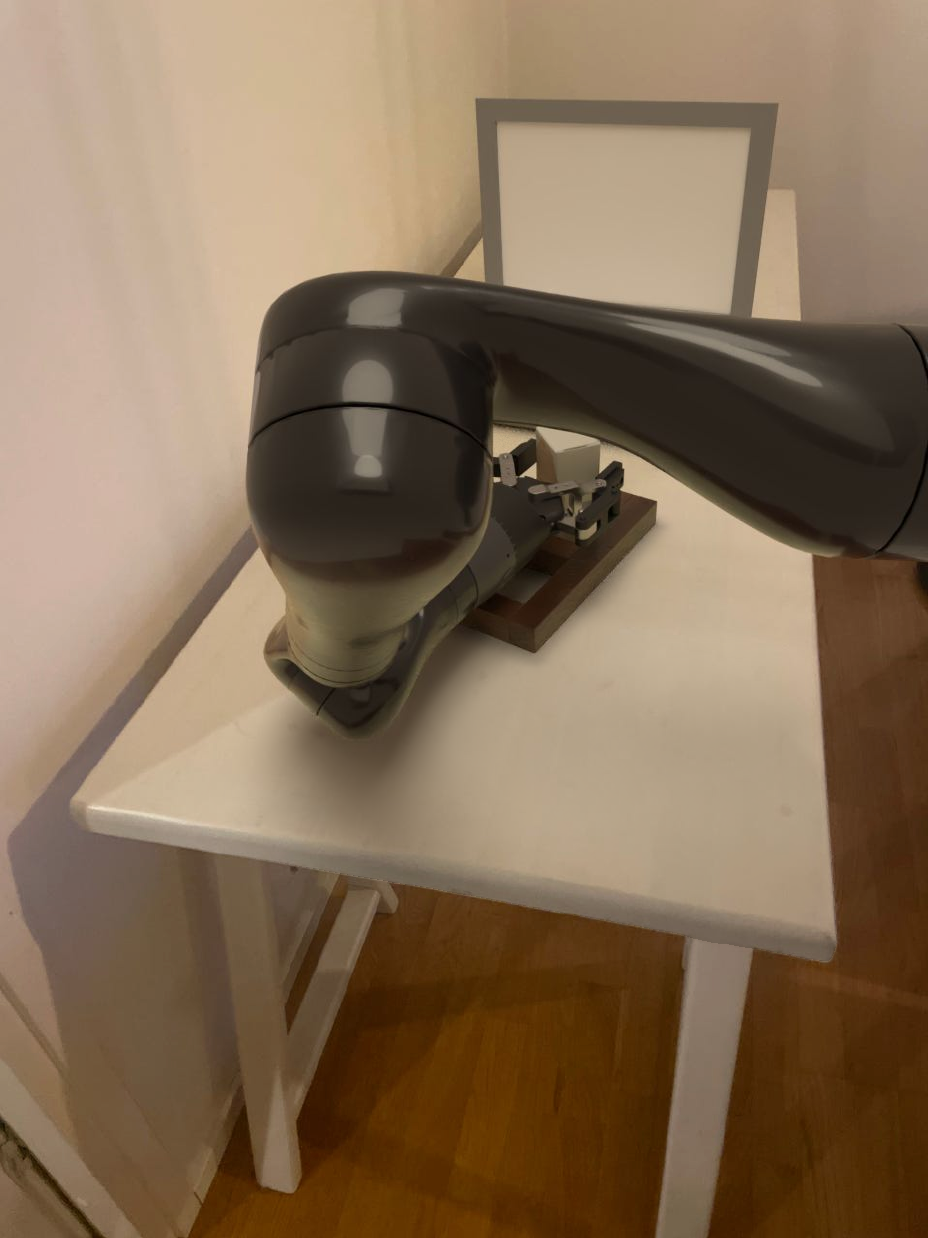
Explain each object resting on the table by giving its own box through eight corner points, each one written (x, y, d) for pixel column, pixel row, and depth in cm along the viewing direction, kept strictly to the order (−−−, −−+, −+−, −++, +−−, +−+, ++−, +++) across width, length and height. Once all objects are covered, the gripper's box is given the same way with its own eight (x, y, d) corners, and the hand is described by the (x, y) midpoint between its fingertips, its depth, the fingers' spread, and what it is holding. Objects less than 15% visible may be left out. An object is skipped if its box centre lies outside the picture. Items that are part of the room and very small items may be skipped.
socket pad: (656, 523, 90) (657, 500, 88) (535, 653, 76) (534, 629, 75) (546, 490, 96) (546, 469, 94) (416, 606, 82) (413, 583, 81)
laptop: (401, 412, 111) (370, 152, 93) (491, 327, 129) (479, 96, 112) (693, 458, 99) (721, 167, 81) (747, 356, 117) (780, 100, 99)
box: (535, 528, 90) (533, 424, 83) (577, 518, 91) (578, 414, 84) (556, 557, 86) (555, 451, 79) (599, 547, 87) (602, 440, 80)
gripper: (550, 534, 69) (650, 439, 79) (399, 485, 76) (509, 404, 86) (551, 613, 74) (646, 514, 84) (409, 560, 81) (512, 475, 91)
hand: (576, 458), depth 85 cm, fingers open, 8 cm apart
